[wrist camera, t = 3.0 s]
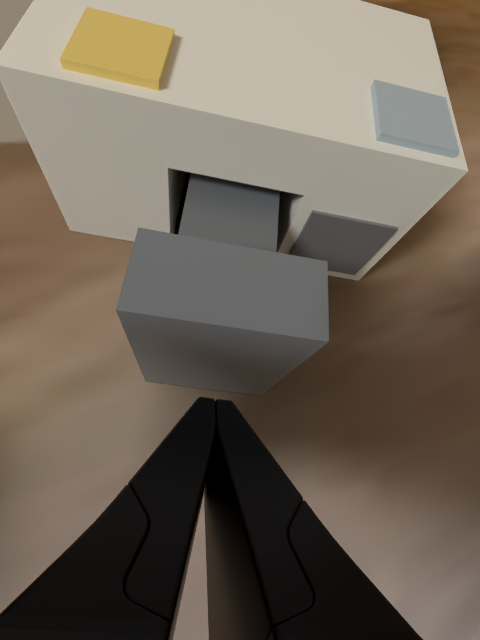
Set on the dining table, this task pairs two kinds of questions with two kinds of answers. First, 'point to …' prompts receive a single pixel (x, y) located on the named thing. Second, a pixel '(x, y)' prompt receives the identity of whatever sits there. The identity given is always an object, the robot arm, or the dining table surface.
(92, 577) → the robot arm
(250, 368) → the plug
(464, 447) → the dining table surface
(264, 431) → the dining table surface
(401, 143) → the port box
